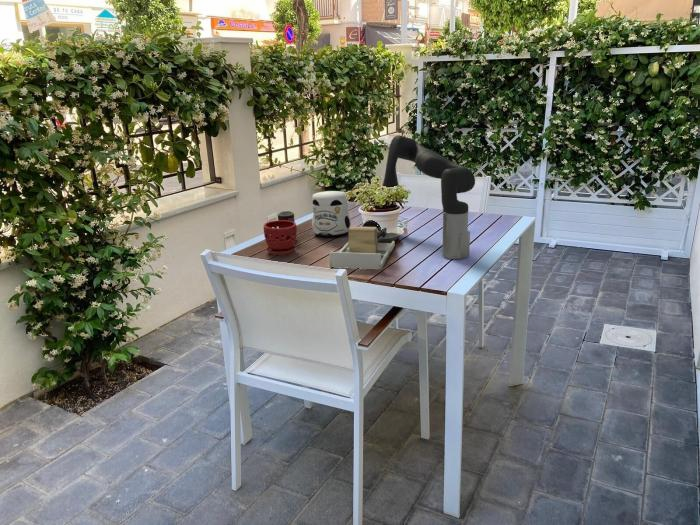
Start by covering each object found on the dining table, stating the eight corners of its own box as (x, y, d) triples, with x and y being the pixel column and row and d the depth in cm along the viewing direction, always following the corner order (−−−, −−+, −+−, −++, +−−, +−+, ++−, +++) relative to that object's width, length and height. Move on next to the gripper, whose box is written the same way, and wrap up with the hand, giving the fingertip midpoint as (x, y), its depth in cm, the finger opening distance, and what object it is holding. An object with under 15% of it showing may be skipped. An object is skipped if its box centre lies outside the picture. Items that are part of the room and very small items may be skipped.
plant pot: (268, 258, 211) (265, 229, 207) (263, 249, 223) (261, 221, 219) (301, 254, 214) (299, 225, 210) (295, 245, 226) (292, 218, 222)
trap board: (349, 244, 225) (349, 230, 223) (394, 245, 220) (394, 231, 218) (329, 267, 197) (329, 252, 196) (380, 270, 193) (380, 254, 191)
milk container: (318, 241, 231) (315, 200, 225) (308, 231, 247) (305, 192, 241) (356, 236, 236) (354, 195, 230) (344, 227, 252) (342, 189, 246)
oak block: (352, 251, 211) (351, 226, 208) (377, 252, 209) (376, 227, 206) (349, 255, 207) (348, 229, 204) (374, 256, 204) (374, 230, 201)
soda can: (299, 238, 236) (297, 211, 232) (289, 242, 231) (287, 215, 227) (286, 236, 240) (284, 210, 236) (276, 241, 234) (274, 213, 230)
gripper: (356, 217, 224) (346, 227, 209) (389, 218, 220) (382, 228, 205) (356, 234, 226) (347, 246, 211) (390, 235, 223) (382, 247, 208)
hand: (364, 237), depth 208 cm, fingers open, 8 cm apart
